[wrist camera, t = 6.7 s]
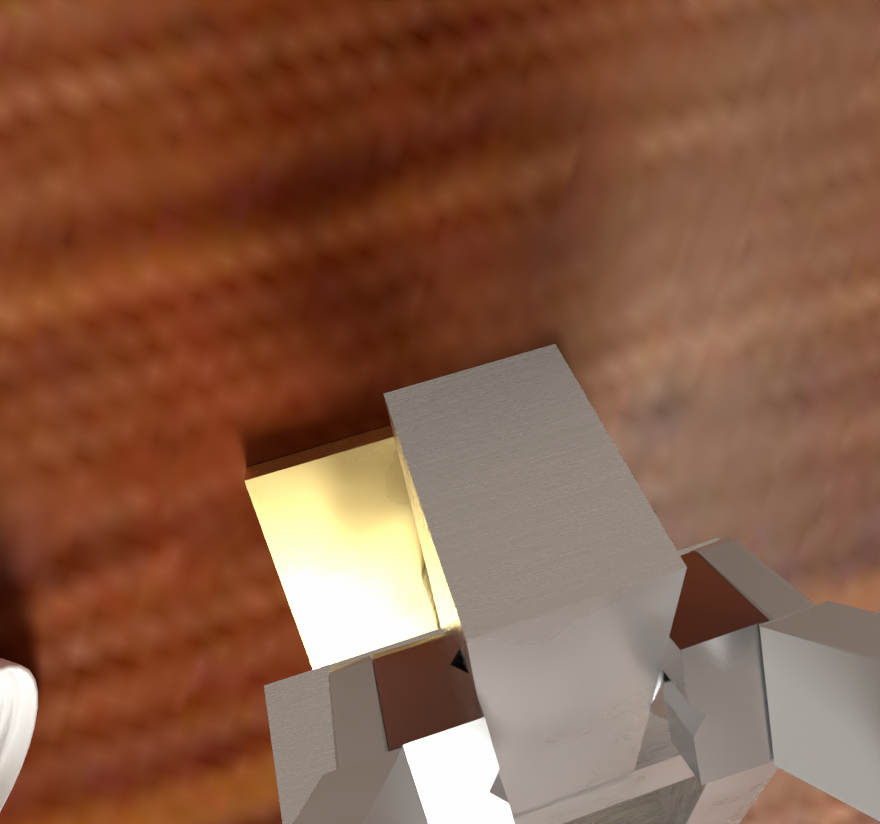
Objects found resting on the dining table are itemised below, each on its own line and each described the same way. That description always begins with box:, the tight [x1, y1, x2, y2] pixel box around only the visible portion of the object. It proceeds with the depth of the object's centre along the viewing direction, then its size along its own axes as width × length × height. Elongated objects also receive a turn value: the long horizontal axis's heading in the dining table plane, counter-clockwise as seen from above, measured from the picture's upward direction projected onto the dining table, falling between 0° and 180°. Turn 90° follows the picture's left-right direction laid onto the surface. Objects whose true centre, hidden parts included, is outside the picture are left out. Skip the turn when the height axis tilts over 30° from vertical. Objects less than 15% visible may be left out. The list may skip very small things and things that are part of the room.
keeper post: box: [245, 425, 441, 670], centre depth 22 cm, size 10×10×6 cm
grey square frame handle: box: [264, 344, 779, 824], centre depth 13 cm, size 14×8×3 cm, turn 13°
